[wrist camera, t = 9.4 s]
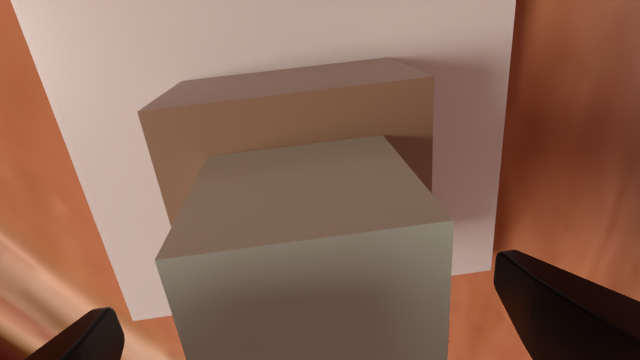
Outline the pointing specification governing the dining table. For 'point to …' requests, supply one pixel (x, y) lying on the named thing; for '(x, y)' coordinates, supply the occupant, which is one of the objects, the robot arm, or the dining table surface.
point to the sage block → (310, 257)
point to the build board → (254, 37)
